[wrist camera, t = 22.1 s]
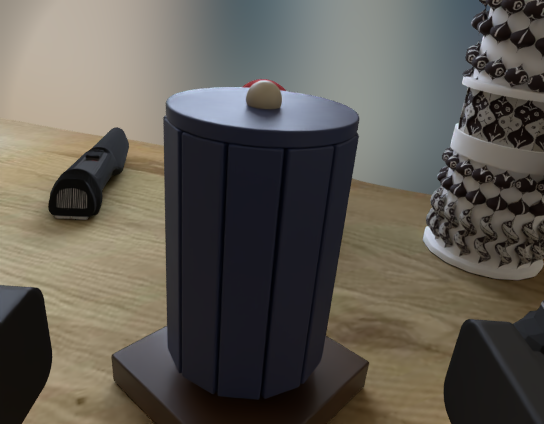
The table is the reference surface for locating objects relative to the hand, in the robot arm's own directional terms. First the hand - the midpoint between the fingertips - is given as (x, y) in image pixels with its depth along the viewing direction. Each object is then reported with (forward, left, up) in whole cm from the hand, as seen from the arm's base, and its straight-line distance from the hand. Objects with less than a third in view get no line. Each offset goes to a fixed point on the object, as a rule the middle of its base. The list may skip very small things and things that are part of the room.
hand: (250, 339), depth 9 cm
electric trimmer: (+2, +34, -10) cm, 35 cm away
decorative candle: (+26, +13, -10) cm, 30 cm away
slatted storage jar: (+4, +8, -7) cm, 11 cm away
